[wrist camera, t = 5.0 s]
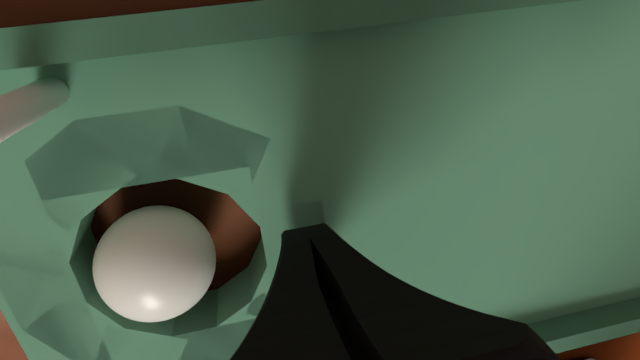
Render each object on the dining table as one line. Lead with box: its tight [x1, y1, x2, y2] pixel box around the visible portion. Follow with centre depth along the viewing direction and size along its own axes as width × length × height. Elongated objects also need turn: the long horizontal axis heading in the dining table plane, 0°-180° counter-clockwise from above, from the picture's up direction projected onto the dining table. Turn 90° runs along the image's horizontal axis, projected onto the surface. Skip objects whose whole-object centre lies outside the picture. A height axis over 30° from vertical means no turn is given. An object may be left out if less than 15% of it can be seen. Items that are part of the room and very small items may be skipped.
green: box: [0, 0, 640, 360], centre depth 14 cm, size 14×24×3 cm, turn 95°
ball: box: [92, 205, 216, 322], centre depth 12 cm, size 4×4×4 cm
